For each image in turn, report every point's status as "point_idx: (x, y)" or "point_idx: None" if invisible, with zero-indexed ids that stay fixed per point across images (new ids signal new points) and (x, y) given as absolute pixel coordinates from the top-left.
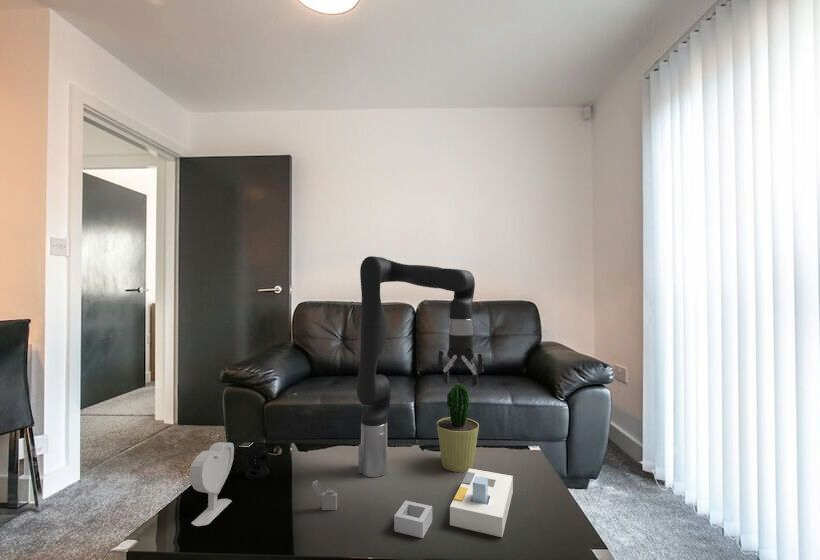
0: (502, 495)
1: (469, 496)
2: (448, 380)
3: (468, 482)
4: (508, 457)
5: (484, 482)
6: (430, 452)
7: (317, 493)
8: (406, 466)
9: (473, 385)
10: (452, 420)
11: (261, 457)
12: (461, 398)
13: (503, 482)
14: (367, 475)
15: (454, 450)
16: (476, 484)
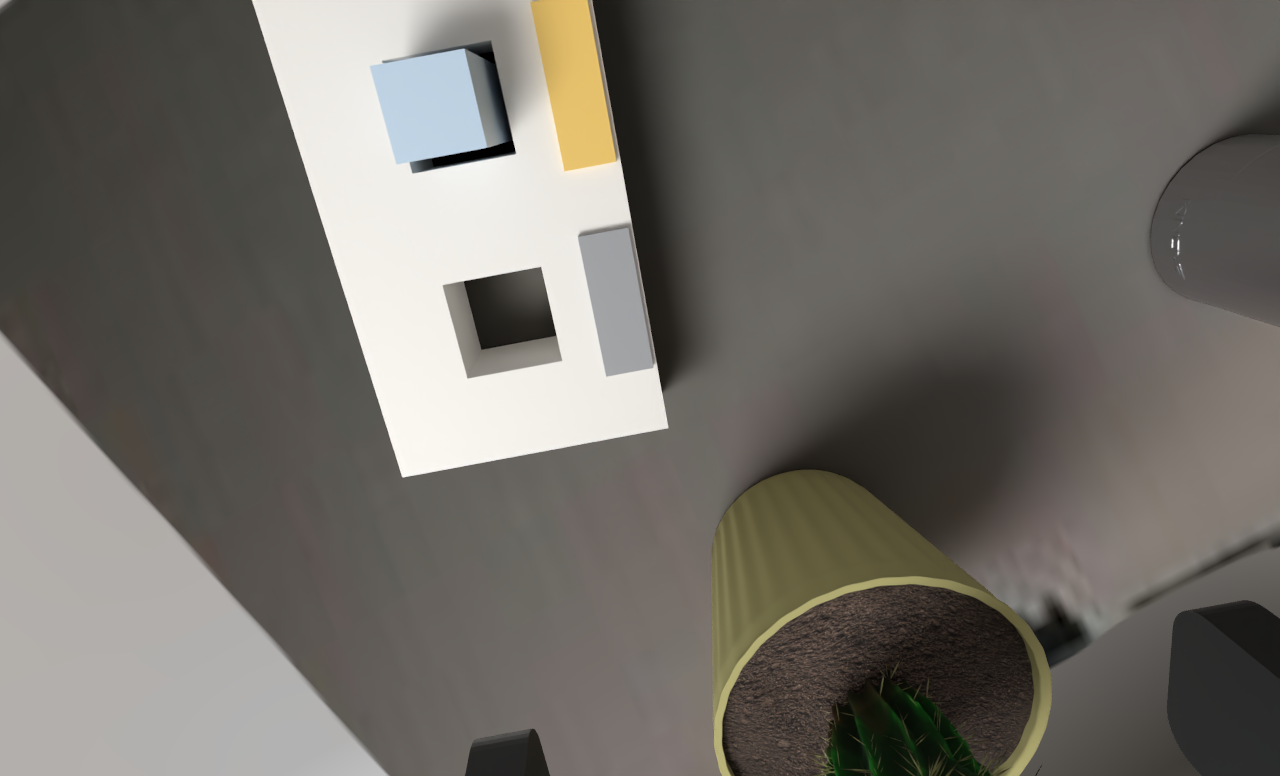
0: (354, 221)
1: (520, 94)
2: (1231, 731)
3: (591, 242)
4: (583, 756)
5: (392, 98)
6: (996, 597)
7: None
8: (1064, 379)
9: (493, 748)
10: (926, 708)
11: None
12: None
13: (415, 373)
14: (1247, 135)
15: (814, 521)
16: (438, 55)
